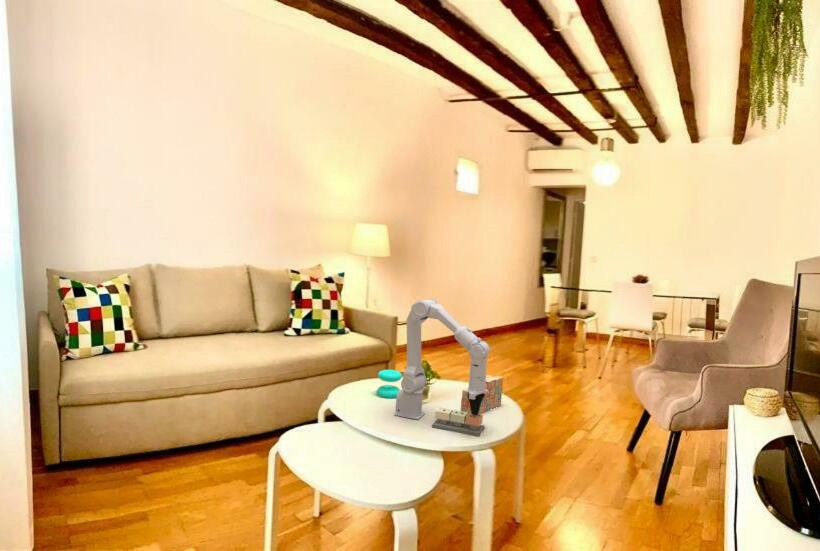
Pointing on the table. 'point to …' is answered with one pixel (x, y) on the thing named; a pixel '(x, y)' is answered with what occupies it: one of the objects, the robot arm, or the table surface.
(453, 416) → the tile two
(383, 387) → the donuts
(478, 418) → the tile three
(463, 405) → the stack of blocks
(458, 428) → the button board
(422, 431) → the table surface
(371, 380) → the table surface
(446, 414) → the tile one
